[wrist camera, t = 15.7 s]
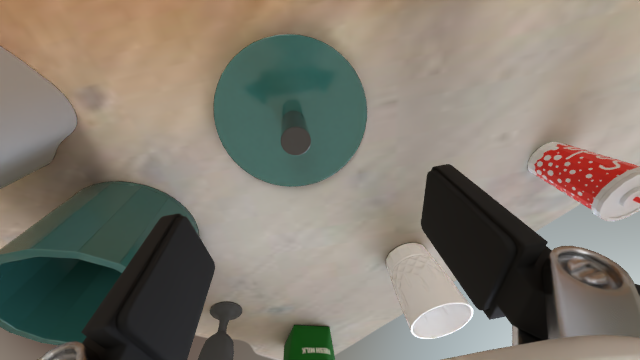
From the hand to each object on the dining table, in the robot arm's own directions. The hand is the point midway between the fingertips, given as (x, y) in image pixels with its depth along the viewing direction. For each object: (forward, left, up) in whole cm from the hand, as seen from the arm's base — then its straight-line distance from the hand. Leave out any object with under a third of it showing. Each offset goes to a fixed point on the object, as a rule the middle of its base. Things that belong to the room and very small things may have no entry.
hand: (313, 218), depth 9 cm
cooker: (+10, -21, -16) cm, 29 cm away
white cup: (+25, +13, -17) cm, 33 cm away
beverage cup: (+11, +31, -17) cm, 37 cm away
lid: (+1, 0, -16) cm, 16 cm away
